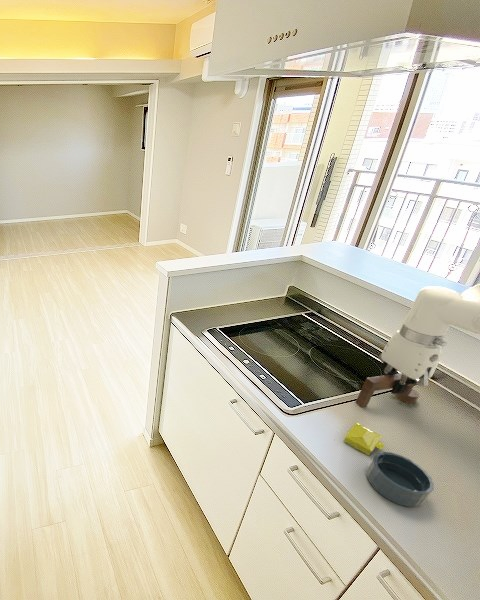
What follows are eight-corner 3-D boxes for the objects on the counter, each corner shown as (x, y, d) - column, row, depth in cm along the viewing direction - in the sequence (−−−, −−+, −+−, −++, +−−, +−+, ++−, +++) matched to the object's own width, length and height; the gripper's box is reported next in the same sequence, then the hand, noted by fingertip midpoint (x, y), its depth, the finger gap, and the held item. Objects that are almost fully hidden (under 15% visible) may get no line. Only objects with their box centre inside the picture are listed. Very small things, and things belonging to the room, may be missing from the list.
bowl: (391, 463, 77) (400, 449, 75) (435, 504, 68) (447, 489, 66) (354, 469, 76) (362, 455, 74) (394, 511, 67) (405, 497, 65)
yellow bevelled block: (349, 420, 88) (353, 413, 87) (392, 443, 81) (397, 436, 80) (333, 440, 83) (337, 432, 82) (379, 466, 76) (384, 458, 75)
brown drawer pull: (404, 391, 96) (417, 367, 92) (420, 402, 93) (434, 378, 88) (351, 399, 95) (362, 375, 91) (365, 410, 91) (377, 386, 87)
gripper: (470, 351, 76) (434, 408, 85) (402, 316, 90) (376, 369, 99) (442, 355, 76) (408, 412, 84) (377, 319, 90) (354, 372, 98)
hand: (391, 388), depth 91 cm, fingers closed on brown drawer pull, 2 cm apart
